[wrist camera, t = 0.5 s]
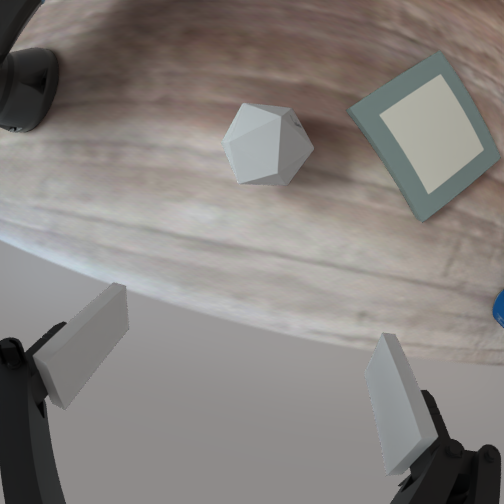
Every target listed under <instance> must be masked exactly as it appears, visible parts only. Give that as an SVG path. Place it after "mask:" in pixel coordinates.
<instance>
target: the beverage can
mask: <svg viewBox="0 0 504 504" xmlns="http://www.w3.org/2000/svg"><path fill="white" fill-rule="evenodd" d="M493 317H494V318H495V319H496V320H497V322H498V323H499V324H500V325H501V326H502V327H503V328H504V289H503V290H502V291H501V292H500V293H499V294H498V296H497V297H496V299H495V302H494V305H493Z"/></svg>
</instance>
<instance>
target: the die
mask: <svg viewBox="0 0 504 504" xmlns="http://www.w3.org/2000/svg"><path fill="white" fill-rule="evenodd" d="M221 144H222V146H223V148H224V151H225V153H226V155H227V158H228V160H229V162H230V165H231V167H232V169H233V172H234V174H235V177H236V179H237V181H238V184H255V185H283V186H287V185H288V184H289V182H290V181H291V179H292V178H293V177H294V175H295V174H296V173H297V171H298V170H299V169H300V167H301V166H302V165H303V163H304V162H305V161H306V159H307V158H308V156H309V155H310V154H311V152H312V151H313V150H314V147H313V145H312V143H311V141H310V139H309V138H308V136H307V134H306V132H305V130H304V128H303V127H302V125H301V123H300V121H299V119H298V118H297V116H296V114H295V112H294V111H293V109H292V108H287V107H279V106H270V105H261V104H250V103H243V104H242V106H241V108H240V109H239V111H238V113H237V115H236V116H235V118H234V120H233V122H232V124H231V126H230V127H229V129H228V131H227V133H226V135H225V137H224V138H223V140H222V142H221Z"/></svg>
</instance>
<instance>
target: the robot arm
mask: <svg viewBox="0 0 504 504" xmlns="http://www.w3.org/2000/svg"><path fill="white" fill-rule="evenodd" d="M44 2H45V0H0V128H3V129H5V130H8V131H10V132H15V133H16V132H27V131H29V130H31V129H33V128H34V127H36V126H37V125H38V124H39V123H40V121H41V120H42V119H43V118H44V116H45V115H46V113H47V111H48V109H49V107H50V105H51V103H52V101H53V98H54V95H55V92H56V88H57V83H58V63H57V59H56V57H55V55H54V54H53V53H52V52H51V51H49V50H47V49H43V48H30V49H25V50H20V51H15V52H11V53H9V52H10V50H11V48H12V47H13V45H14V43H15V42H16V40H17V39H18V37H19V35H20V34H21V32H22V31H23V29H24V28H25V26H26V25H27V24H28V22H29V21H30V19H31V18H32V17H33V15H34V14H35V12H36V11H37V10H38V8H39V7H40V6H41V5H42V4H44ZM128 330H129V321H128V309H127V295H126V286H125V285H121V284H118V283H113V284H111V285H110V286H109V287H108V288H107V289H106V290H104V291H103V292H102V293H101V294H100V295H99V296H98V297H96V298H95V299H94V300H93V301H92V302H90V304H88V305H87V306H86V307H85V308H84V309H83V310H81V311H80V312H79V313H78V314H77V315H76V316H75V317H74V318H73V319H71V320H70V321H69V322H68V323H66V322H62V323H59V324H57V325H55V326H53V327H52V328H51V329H50V330H49V331H48V332H47V333H46V334H44V335H43V336H42V338H40V339H39V340H38V341H37V342H36V343H35V344H34V345H33V346H32V347H30V348H29V349H28V350H27V351H26V352H24V349H23V347H22V344H21V342H20V341H19V340H18V339H16V338H5V339H3V340H1V341H0V470H1V478H2V486H3V492H4V498H5V504H66V502H65V499H64V495H63V492H62V489H61V485H60V481H59V477H58V473H57V468H56V464H55V459H54V455H53V450H52V444H51V438H50V432H49V425H48V417H47V408H46V402H45V400H44V399H45V398H46V396H47V395H49V397H50V400H51V402H52V403H53V404H55V405H57V406H58V407H60V408H62V409H64V410H66V409H67V407H68V406H69V405H70V403H71V402H72V401H73V399H74V398H75V397H76V396H77V394H78V393H79V392H80V390H81V389H82V388H83V386H84V385H85V384H86V382H87V381H88V380H89V379H90V377H91V376H92V375H93V373H94V372H95V371H96V370H97V368H98V367H99V366H100V365H101V363H102V362H103V361H104V359H105V358H106V357H107V356H108V354H109V353H110V352H111V351H112V349H113V348H114V347H115V346H116V344H117V343H118V342H119V341H120V339H121V338H122V337H123V336H124V335H125V333H126V332H127V331H128ZM364 375H365V379H366V383H367V387H368V391H369V395H370V399H371V403H372V407H373V412H374V416H375V421H376V425H377V430H378V435H379V440H380V445H381V449H382V455H383V460H384V466H385V471H386V476H388V475H399V474H403V473H404V472H405V471H406V470H407V469H408V468H409V467H410V471H411V474H410V475H409V476H408V477H407V478H406V479H405V480H404V481H403V482H401V483H400V484H399V485H398V486H401V485H402V487H401V488H400V490H399V491H398V493H397V494H396V496H395V497H394V499H393V500H392V501H391V503H390V504H499V498H500V482H501V456H500V453H499V451H498V449H497V448H496V447H494V446H492V445H484V446H482V448H480V449H479V450H478V452H475V451H469V450H464V447H463V446H462V444H461V443H459V442H458V441H457V440H454V439H450V436H449V434H448V431H447V429H446V426H445V424H444V421H443V419H442V416H441V415H440V411H439V409H438V408H437V404H436V402H435V400H434V397H433V396H432V395H431V394H430V393H429V392H428V391H427V390H420V388H419V386H418V383H417V381H416V379H415V376H414V374H413V372H412V369H411V367H410V365H409V363H408V361H407V358H406V356H405V354H404V352H403V350H402V347H401V345H400V343H399V341H398V339H397V337H396V335H395V334H389V333H382V335H381V337H380V339H379V342H378V344H377V346H376V348H375V351H374V353H373V355H372V357H371V360H370V362H369V364H368V366H367V368H366V370H365V372H364Z"/></svg>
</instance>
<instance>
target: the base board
mask: <svg viewBox="0 0 504 504" xmlns="http://www.w3.org/2000/svg"><path fill="white" fill-rule="evenodd" d="M346 111H347V112H348V114H349V115H350V116H351V118H352V119H353V120H354V122H355V123H356V124H357V126H358V127H359V129H360V130H361V131H362V133H363V134H364V135H365V137H366V138H367V140H368V141H369V143H370V144H371V145H372V147H373V148H374V150H375V151H376V153H377V154H378V156H379V157H380V159H381V160H382V162H383V163H384V165H385V166H386V168H387V170H388V171H389V173H390V174H391V176H392V178H393V179H394V181H395V182H396V184H397V186H398V187H399V189H400V191H401V192H402V194H403V196H404V198H405V199H406V201H407V203H408V205H409V206H410V208H411V210H412V212H413V214H414V215H415V217H416V219H418V220H419V221H421V222H422V223H423V222H424V221H425V220H426V219H428V218H429V217H430V216H432V215H433V214H434V213H435V212H437V211H438V210H439V209H441V208H442V207H443V206H444V205H446V204H447V203H448V202H449V201H451V200H452V199H453V198H454V197H456V196H457V195H458V194H459V193H460V192H462V191H463V190H464V189H465V188H466V187H468V186H469V185H470V184H471V183H472V182H474V181H475V180H476V179H477V178H478V177H479V176H481V175H482V174H483V173H484V172H485V171H486V170H488V169H489V168H490V167H491V166H492V165H493V164H494V163H495V162H497V161H498V160H499V159H500V158H501V157H500V154H499V152H498V150H497V147H496V145H495V143H494V141H493V139H492V137H491V134H490V132H489V130H488V128H487V126H486V124H485V122H484V120H483V118H482V116H481V115H480V113H479V111H478V109H477V107H476V105H475V104H474V102H473V100H472V98H471V97H470V95H469V93H468V92H467V90H466V88H465V87H464V85H463V83H462V82H461V80H460V79H459V77H458V76H457V74H456V72H455V71H454V69H453V68H452V67H451V65H450V64H449V62H448V61H447V59H446V58H445V57H444V55H443V54H442V52H441V51H438V52H436V53H435V54H433V55H431V56H430V57H428V58H426V59H425V60H423V61H421V62H420V63H418V64H416V65H415V66H413V67H412V68H410V69H408V70H407V71H405V72H404V73H402V74H400V75H399V76H397V77H396V78H394V79H392V80H391V81H389V82H388V83H386V84H385V85H383V86H382V87H380V88H379V89H377V90H376V91H374V92H373V93H371V94H369V95H368V96H366V97H365V98H364V99H362V100H361V101H359V102H358V103H356V104H355V105H353V106H352V107H350V108H349V109H347V110H346Z"/></svg>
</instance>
